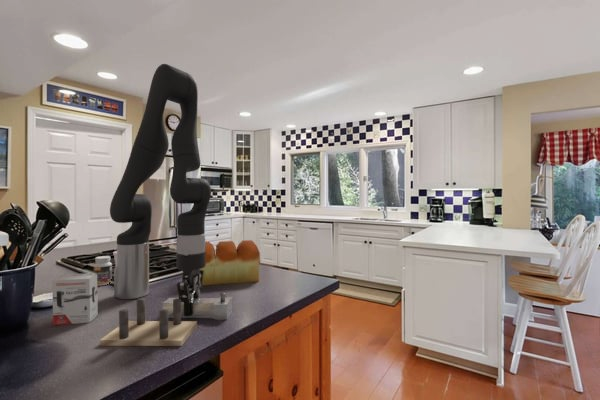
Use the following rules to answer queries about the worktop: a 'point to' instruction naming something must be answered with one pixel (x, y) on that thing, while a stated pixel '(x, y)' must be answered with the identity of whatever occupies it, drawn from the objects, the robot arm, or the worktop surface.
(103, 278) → the pill bottle
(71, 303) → the ink box
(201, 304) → the grey pegged bar
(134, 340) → the rack
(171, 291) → the worktop surface
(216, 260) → the bread
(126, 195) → the robot arm
